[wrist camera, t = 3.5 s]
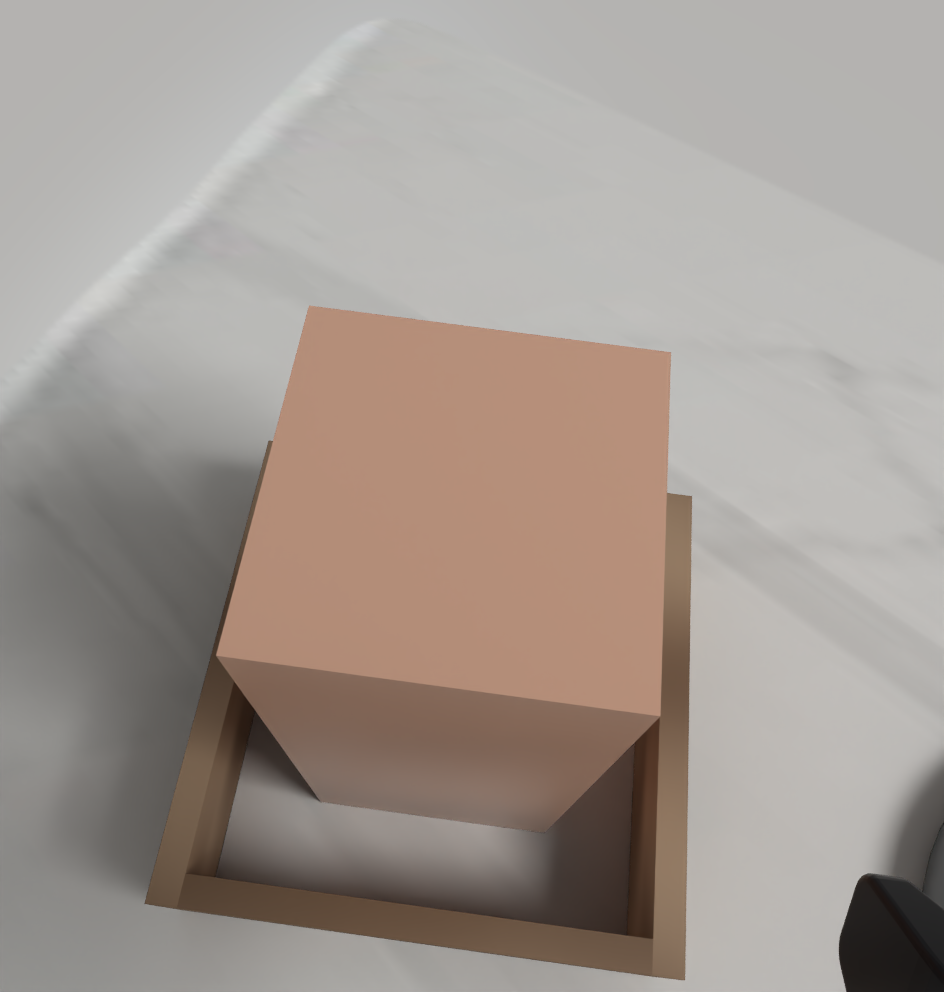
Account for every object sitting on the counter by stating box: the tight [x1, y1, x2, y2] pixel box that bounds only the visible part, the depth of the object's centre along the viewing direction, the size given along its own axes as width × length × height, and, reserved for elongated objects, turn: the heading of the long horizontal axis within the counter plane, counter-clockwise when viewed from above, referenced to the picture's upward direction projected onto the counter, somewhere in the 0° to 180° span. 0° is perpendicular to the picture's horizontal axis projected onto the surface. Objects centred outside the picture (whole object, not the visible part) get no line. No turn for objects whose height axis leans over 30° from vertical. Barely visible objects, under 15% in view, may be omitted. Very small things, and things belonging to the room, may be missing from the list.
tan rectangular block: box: [216, 306, 671, 833], centre depth 16 cm, size 5×5×11 cm
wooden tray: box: [145, 441, 692, 980], centre depth 20 cm, size 10×10×2 cm
